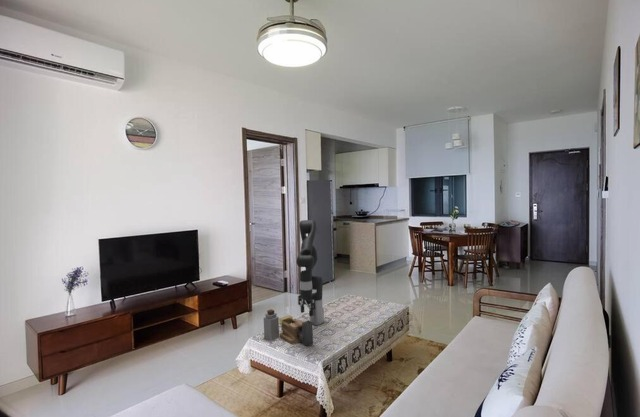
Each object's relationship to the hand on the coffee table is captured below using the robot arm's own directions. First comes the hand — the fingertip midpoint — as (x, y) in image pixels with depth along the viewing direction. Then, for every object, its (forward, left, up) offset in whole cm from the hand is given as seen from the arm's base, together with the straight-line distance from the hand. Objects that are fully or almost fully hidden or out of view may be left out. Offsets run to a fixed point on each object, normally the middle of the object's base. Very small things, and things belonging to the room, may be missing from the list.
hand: (306, 314), depth 215 cm
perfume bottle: (+11, -24, -19) cm, 33 cm away
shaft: (0, -12, -19) cm, 22 cm away
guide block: (0, -14, -19) cm, 24 cm away
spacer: (0, -23, -13) cm, 27 cm away
